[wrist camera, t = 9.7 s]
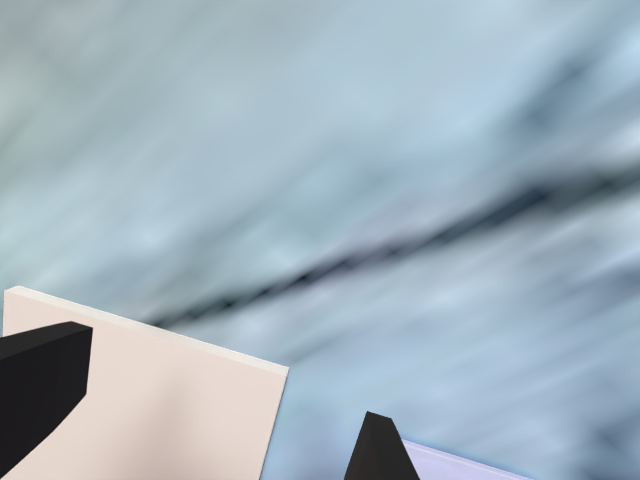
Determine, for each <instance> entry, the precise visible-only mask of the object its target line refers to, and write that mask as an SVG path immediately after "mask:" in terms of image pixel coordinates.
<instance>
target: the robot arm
mask: <svg viewBox="0 0 640 480" xmlns="http://www.w3.org/2000/svg"><path fill="white" fill-rule="evenodd" d="M92 335H93V327H90V326H86V325H83V324H80V323H76V322H73V321H68V322H63V323H58V324H53V325H49V326H44V327H40V328H36V329H32V330H28V331H24V332H20V333H16V334H13V335H9V336H5V337H1V338H0V479H1V478H3V477H4V476H5V475H6V474H7V473H8V472H9V471H10V470H11V469H13V468H14V467H15V466H16V465H17V464H18V463H19V462H20V461H22V460H23V459H24V458H25V457H26V456H27V455H28V454H29V453H30V452H31V451H33V450H34V449H35V448H36V447H37V446H38V445H39V444H40V443H41V442H43V441H44V440H45V439H46V438H47V437H48V436H49V435H50V434H51V433H52V432H53V431H54V430H55V429H56V428H57V427H58V426H59V425H60V424H61V423H62V422H63V420H64V419H65V418H66V417H67V416H68V415H69V414H70V413H71V412H72V411H73V409H74V408H75V407H76V406H77V405H78V404H79V402H80V401H81V400H82V399H83V398H84V397H85V396H86V393H87V383H88V374H89V364H90V354H91V345H92ZM344 480H533V479H530V478H526V477H523V476H520V475H517V474H514V473H510V472H507V471H504V470H501V469H497V468H494V467H491V466H488V465H484V464H481V463H478V462H475V461H472V460H468V459H465V458H462V457H459V456H455V455H452V454H449V453H446V452H442V451H439V450H436V449H433V448H430V447H426V446H423V445H420V444H417V443H413V442H410V441H407V440H404V439H401V438H400V435H399V433H398V431H397V429H396V427H395V425H394V423H393V421H392V419H391V418H388V417H385V416H381V415H378V414H375V413H371V412H368V411H367V413H366V415H365V418H364V421H363V424H362V427H361V430H360V433H359V436H358V439H357V442H356V445H355V448H354V450H353V453H352V456H351V459H350V462H349V465H348V468H347V471H346V474H345V477H344Z"/></svg>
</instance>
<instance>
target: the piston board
mask: <svg viewBox="0 0 640 480" xmlns="http://www.w3.org/2000/svg"><path fill="white" fill-rule="evenodd" d="M68 321H73V322H76V323H80V324H83V325H86V326H90V327H93V335H92V345H91V354H90V364H89V374H88V383H87V393H86V396H85V397H84V398H83V399H82V400H81V401H80V402H79V404H78V405H77V406H76V407H75V408H74V409H73V411H72V412H71V413H70V414H69V415H68V416H67V417H66V418H65V419H64V420H63V422H62V423H61V424H60V425H59V426H58V427H57V428H56V429H55V430H54V431H53V432H52V433H51V434H50V435H49V436H48V437H47V438H46V439H45V440H44V441H43V442H41V443H40V444H39V445H38V446H37V447H36V448H35V449H34V450H33V451H31V452H30V453H29V454H28V455H27V456H26V457H25V458H24V459H23V460H22V461H20V462H19V463H18V464H17V465H16V466H15V467H14V468H13V469H11V470H10V471H9V472H8V473H7V474H6V475H5V476H4V477H3V478H1V479H0V480H259V479H260V475H261V471H262V468H263V464H264V460H265V456H266V453H267V449H268V445H269V442H270V438H271V434H272V431H273V427H274V423H275V419H276V416H277V412H278V408H279V405H280V401H281V397H282V393H283V390H284V386H285V382H286V379H287V375H288V371H289V367H286V366H282V365H279V364H276V363H272V362H269V361H266V360H263V359H259V358H256V357H253V356H249V355H246V354H243V353H240V352H236V351H233V350H230V349H226V348H223V347H220V346H216V345H213V344H210V343H207V342H203V341H200V340H197V339H193V338H190V337H187V336H184V335H180V334H177V333H174V332H170V331H167V330H164V329H160V328H157V327H154V326H151V325H147V324H144V323H141V322H137V321H134V320H131V319H128V318H124V317H121V316H118V315H114V314H111V313H108V312H104V311H101V310H98V309H95V308H91V307H88V306H85V305H81V304H78V303H75V302H71V301H68V300H65V299H62V298H58V297H55V296H52V295H48V294H45V293H42V292H39V291H35V290H32V289H29V288H25V287H22V286H19V285H18V286H15V287H13V288H10V289H7V290H4V318H3V337H5V336H9V335H13V334H16V333H20V332H24V331H28V330H32V329H36V328H40V327H44V326H49V325H53V324H58V323H63V322H68Z"/></svg>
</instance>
